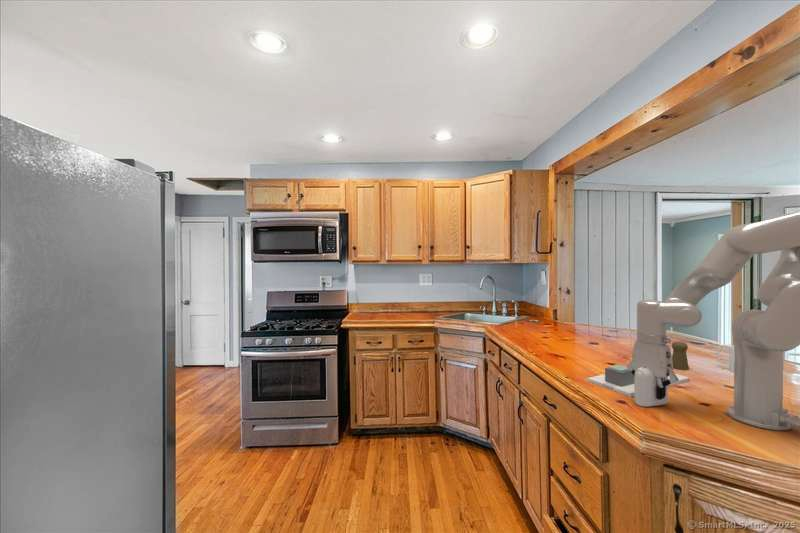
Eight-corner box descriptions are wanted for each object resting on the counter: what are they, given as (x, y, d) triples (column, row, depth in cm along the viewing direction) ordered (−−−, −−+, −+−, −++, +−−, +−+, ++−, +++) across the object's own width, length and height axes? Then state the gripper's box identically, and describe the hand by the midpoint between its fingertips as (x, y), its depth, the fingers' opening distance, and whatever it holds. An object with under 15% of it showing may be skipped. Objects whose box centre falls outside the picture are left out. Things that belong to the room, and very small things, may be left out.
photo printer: (657, 399, 110) (657, 362, 109) (670, 404, 105) (670, 366, 105) (631, 402, 107) (631, 364, 107) (644, 408, 103) (644, 369, 103)
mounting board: (689, 380, 126) (689, 355, 125) (630, 397, 112) (630, 368, 111) (644, 368, 140) (644, 345, 140) (587, 381, 126) (587, 356, 126)
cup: (716, 365, 143) (717, 342, 142) (757, 372, 134) (758, 347, 134) (715, 370, 137) (716, 346, 137) (758, 377, 128) (759, 351, 128)
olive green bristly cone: (687, 367, 141) (687, 341, 141) (690, 371, 136) (690, 344, 136) (669, 364, 144) (669, 339, 144) (671, 368, 139) (671, 342, 139)
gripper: (689, 343, 100) (689, 403, 100) (631, 332, 115) (631, 384, 116) (675, 346, 97) (674, 408, 97) (617, 334, 112) (616, 388, 113)
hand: (650, 394), depth 106 cm, fingers closed on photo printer, 4 cm apart
